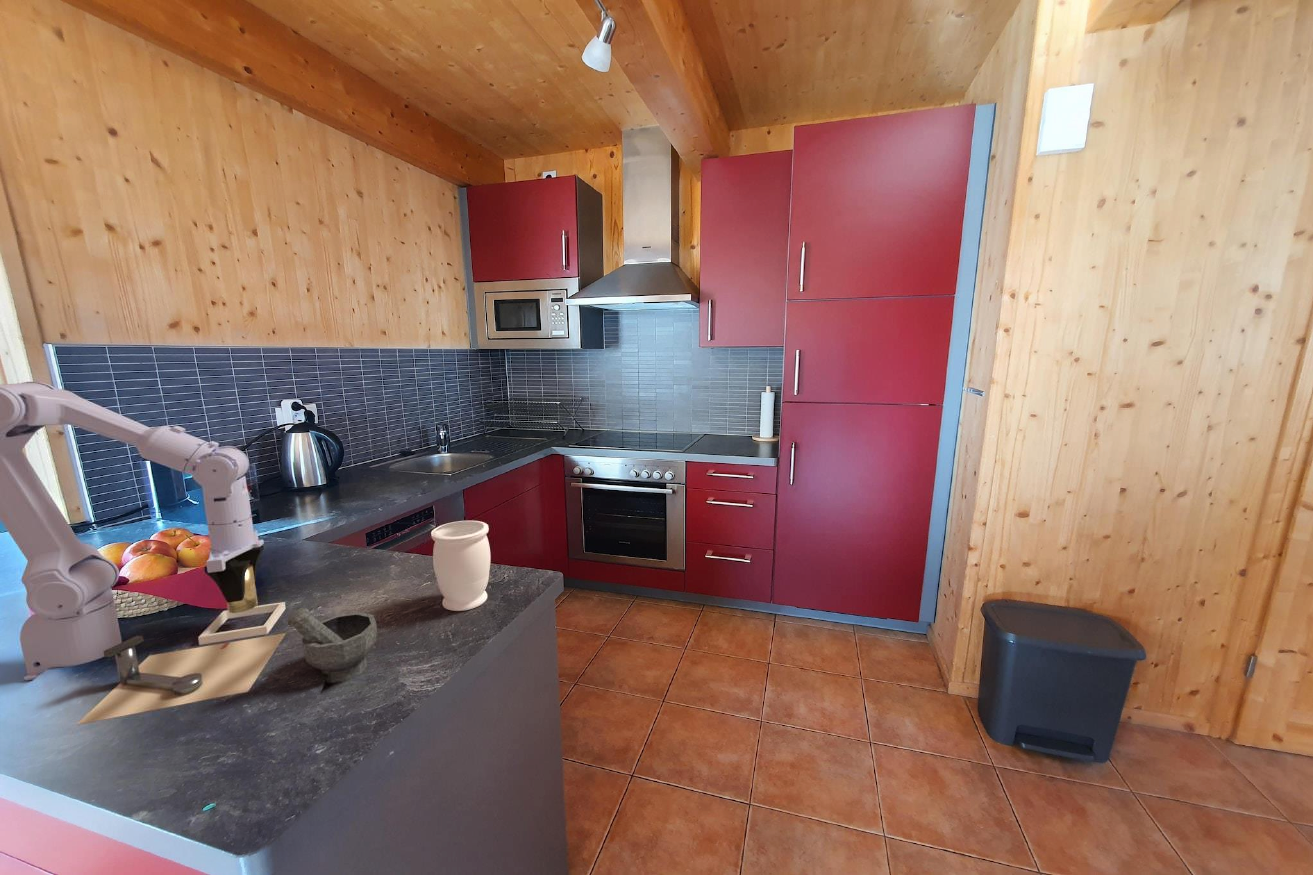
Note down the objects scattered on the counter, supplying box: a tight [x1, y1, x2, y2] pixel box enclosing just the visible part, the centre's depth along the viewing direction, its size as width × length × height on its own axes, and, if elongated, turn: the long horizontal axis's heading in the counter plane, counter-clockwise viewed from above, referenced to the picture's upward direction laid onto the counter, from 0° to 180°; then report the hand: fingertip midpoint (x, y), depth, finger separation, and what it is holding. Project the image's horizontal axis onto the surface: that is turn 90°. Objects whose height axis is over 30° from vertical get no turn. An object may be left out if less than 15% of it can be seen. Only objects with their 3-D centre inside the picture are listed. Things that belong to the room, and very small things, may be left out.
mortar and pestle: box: [286, 607, 378, 684], centre depth 75 cm, size 11×9×12 cm
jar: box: [430, 520, 491, 612], centre depth 97 cm, size 11×10×15 cm
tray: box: [197, 601, 286, 646], centre depth 87 cm, size 9×9×2 cm
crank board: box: [75, 632, 287, 726], centre depth 74 cm, size 18×16×1 cm
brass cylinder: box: [226, 564, 259, 613], centre depth 86 cm, size 4×4×7 cm
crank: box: [103, 635, 203, 695], centre depth 70 cm, size 12×4×6 cm, turn 81°
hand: (241, 594), depth 86 cm, fingers closed on brass cylinder, 4 cm apart
